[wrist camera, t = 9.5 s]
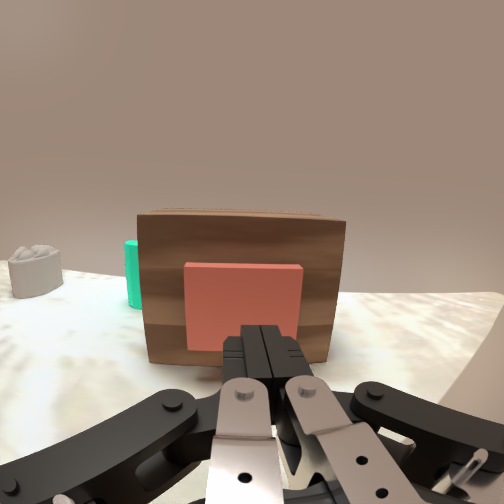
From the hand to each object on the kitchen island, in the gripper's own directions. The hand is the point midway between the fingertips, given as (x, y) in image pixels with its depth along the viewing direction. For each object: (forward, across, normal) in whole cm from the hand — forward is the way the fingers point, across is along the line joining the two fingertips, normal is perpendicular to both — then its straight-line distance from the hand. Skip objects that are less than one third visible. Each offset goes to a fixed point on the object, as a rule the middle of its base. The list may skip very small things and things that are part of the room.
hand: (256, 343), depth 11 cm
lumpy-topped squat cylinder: (+34, +42, +13) cm, 55 cm away
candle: (+32, +15, +13) cm, 37 cm away
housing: (+21, 0, +12) cm, 24 cm away
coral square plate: (+16, 0, +8) cm, 18 cm away
